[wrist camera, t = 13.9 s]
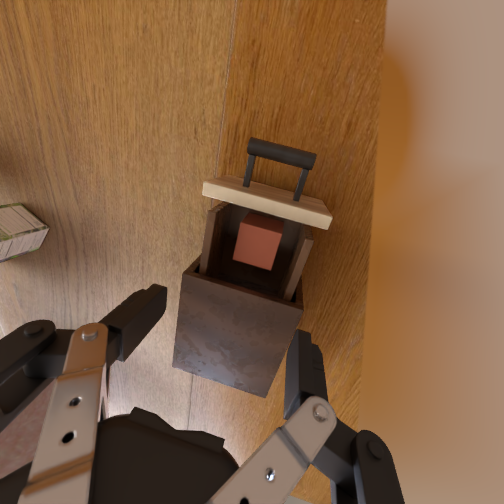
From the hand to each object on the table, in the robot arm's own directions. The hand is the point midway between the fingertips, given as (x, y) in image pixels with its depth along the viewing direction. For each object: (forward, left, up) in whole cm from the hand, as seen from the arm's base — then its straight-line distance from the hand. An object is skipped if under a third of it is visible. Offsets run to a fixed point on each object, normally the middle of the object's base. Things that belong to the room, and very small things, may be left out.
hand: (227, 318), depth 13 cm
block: (0, 0, -16) cm, 16 cm away
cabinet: (+10, +5, -18) cm, 21 cm away
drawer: (-1, -1, -17) cm, 17 cm away
